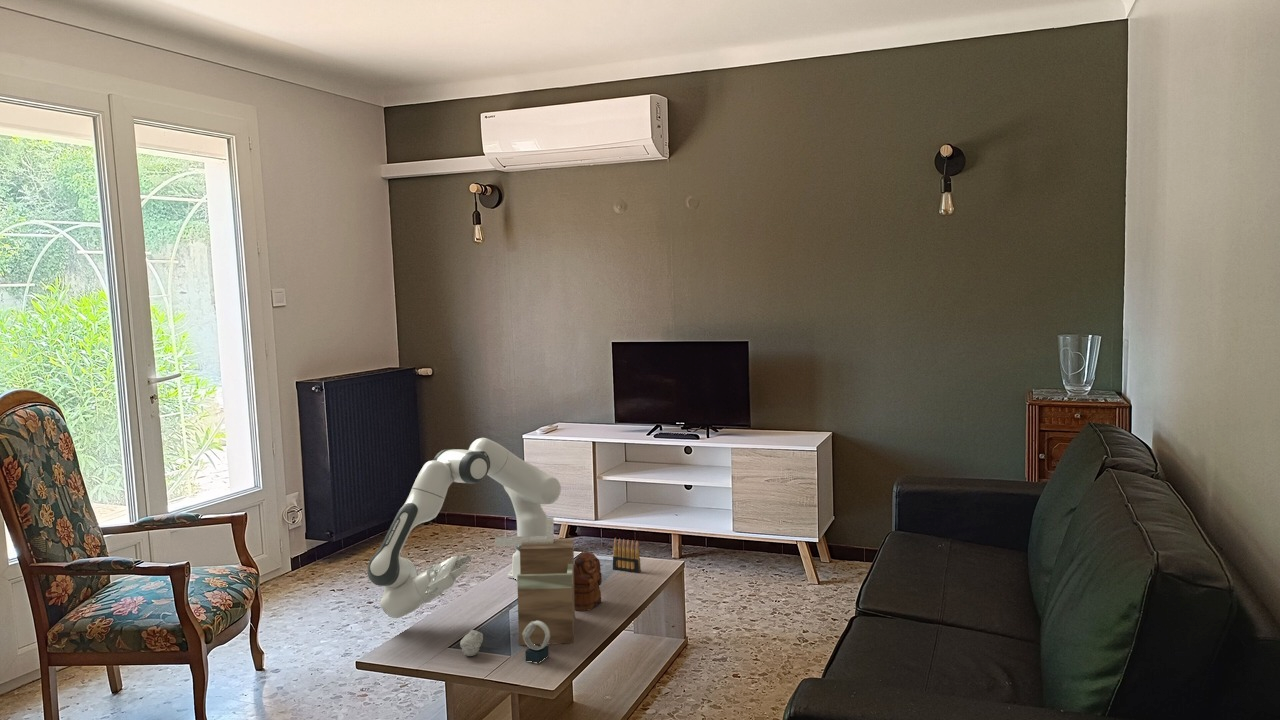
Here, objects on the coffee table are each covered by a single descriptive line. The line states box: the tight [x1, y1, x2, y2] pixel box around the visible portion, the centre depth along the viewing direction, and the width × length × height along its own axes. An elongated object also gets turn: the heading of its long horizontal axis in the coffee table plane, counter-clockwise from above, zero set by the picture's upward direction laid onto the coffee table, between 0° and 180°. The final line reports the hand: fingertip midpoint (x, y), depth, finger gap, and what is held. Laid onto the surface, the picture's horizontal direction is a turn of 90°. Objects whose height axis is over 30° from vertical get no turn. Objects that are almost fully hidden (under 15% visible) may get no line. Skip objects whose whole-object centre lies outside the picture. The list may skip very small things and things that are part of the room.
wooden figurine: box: [574, 551, 603, 611], centre depth 291 cm, size 12×6×18 cm, turn 148°
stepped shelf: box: [516, 537, 576, 646], centre depth 270 cm, size 20×16×26 cm
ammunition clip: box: [612, 537, 642, 574], centre depth 325 cm, size 11×2×12 cm, turn 67°
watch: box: [522, 620, 550, 663], centre depth 250 cm, size 6×8×11 cm
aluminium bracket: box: [494, 516, 555, 547], centre depth 273 cm, size 3×18×8 cm, turn 93°
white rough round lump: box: [459, 629, 484, 657], centre depth 254 cm, size 6×7×7 cm
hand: (468, 561), depth 273 cm, fingers open, 8 cm apart
